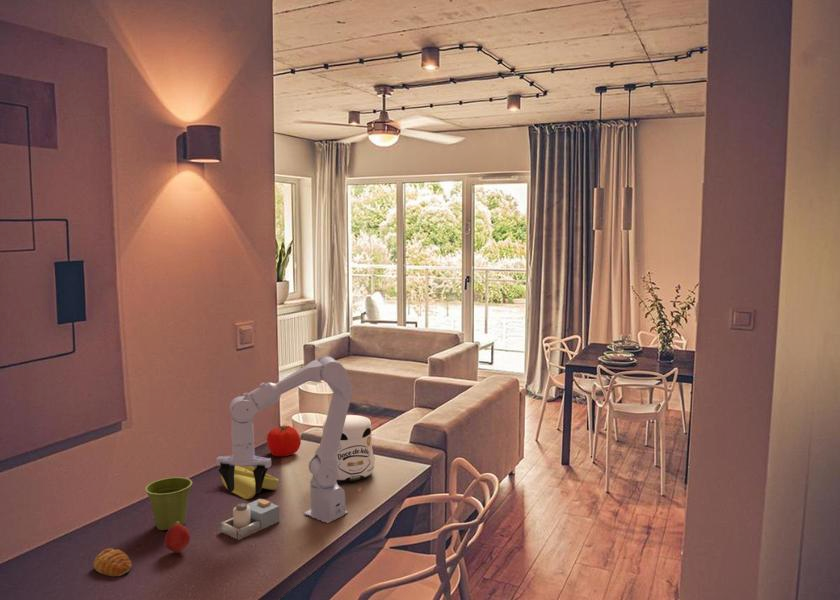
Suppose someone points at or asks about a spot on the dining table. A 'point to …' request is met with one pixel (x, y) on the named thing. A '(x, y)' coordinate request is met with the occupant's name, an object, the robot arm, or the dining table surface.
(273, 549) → the dining table surface
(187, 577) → the dining table surface
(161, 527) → the plant pot
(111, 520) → the dining table surface
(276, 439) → the tomato
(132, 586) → the dining table surface
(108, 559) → the pastry
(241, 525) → the cream capped bottle
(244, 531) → the beige tray
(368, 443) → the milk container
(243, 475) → the plastic component
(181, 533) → the onion
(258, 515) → the block
